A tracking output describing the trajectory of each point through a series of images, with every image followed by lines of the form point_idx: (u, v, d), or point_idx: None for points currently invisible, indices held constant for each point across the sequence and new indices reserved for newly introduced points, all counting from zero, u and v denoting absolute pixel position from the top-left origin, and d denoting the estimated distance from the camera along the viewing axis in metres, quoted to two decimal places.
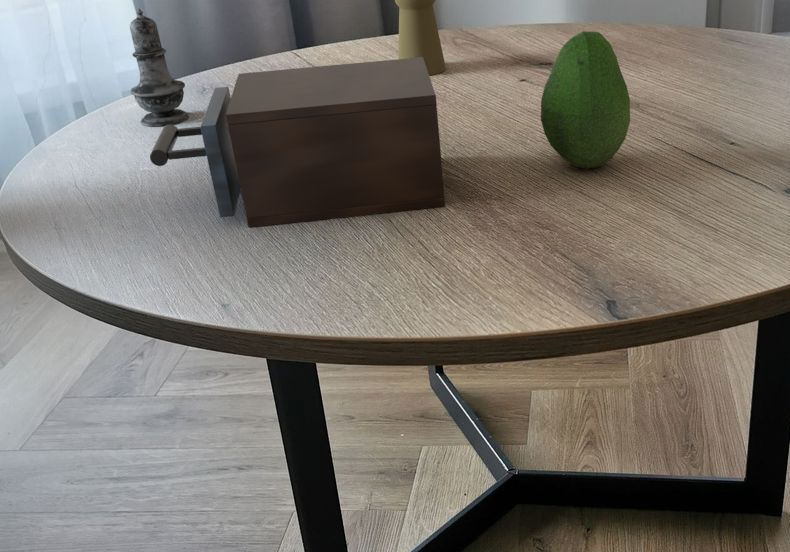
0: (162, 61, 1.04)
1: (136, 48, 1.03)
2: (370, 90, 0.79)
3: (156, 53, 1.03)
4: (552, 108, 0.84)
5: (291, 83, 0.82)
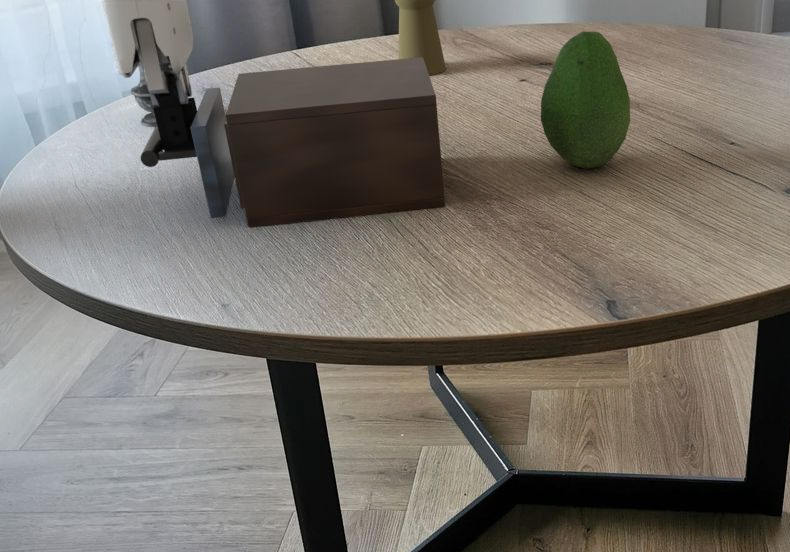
0: None
1: None
2: (370, 90, 0.79)
3: None
4: (552, 108, 0.84)
5: (291, 83, 0.82)
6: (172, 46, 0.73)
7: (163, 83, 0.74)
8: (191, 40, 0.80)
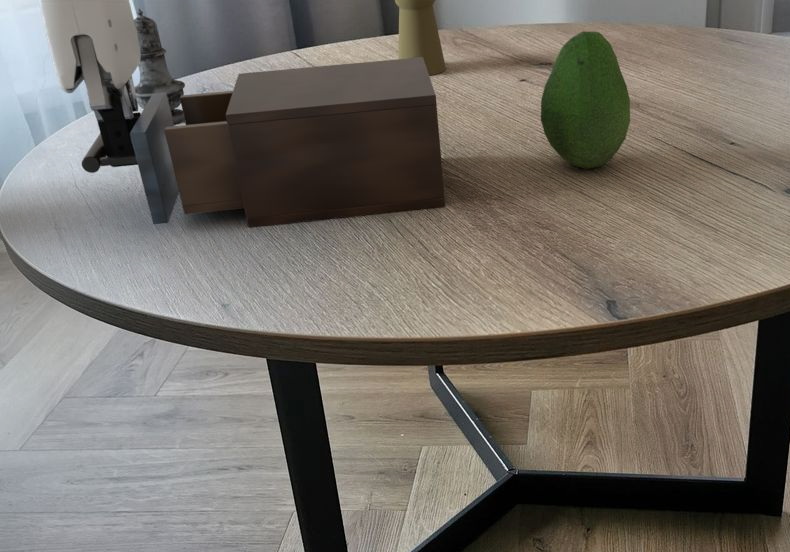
0: (162, 61, 1.04)
1: None
2: (370, 90, 0.79)
3: (156, 53, 1.03)
4: (552, 108, 0.84)
5: (291, 83, 0.82)
6: (114, 63, 0.73)
7: (105, 99, 0.74)
8: (137, 55, 0.80)
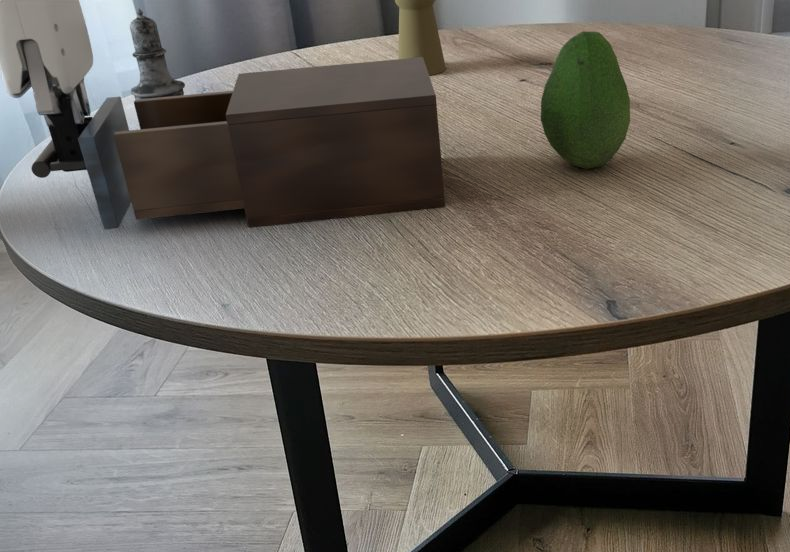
0: (162, 61, 1.04)
1: (136, 48, 1.03)
2: (370, 90, 0.79)
3: (156, 53, 1.03)
4: (552, 108, 0.84)
5: (291, 83, 0.82)
6: (61, 67, 0.73)
7: (52, 104, 0.74)
8: (89, 59, 0.80)
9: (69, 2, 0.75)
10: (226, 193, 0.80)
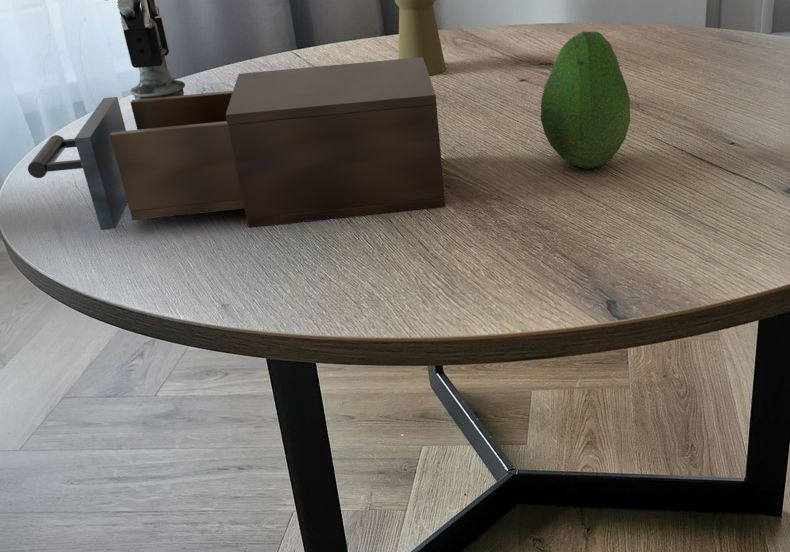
0: None
1: None
2: (370, 90, 0.79)
3: None
4: (552, 108, 0.84)
5: (291, 83, 0.82)
6: None
7: (129, 0, 0.95)
8: None
9: None
10: (223, 193, 0.80)
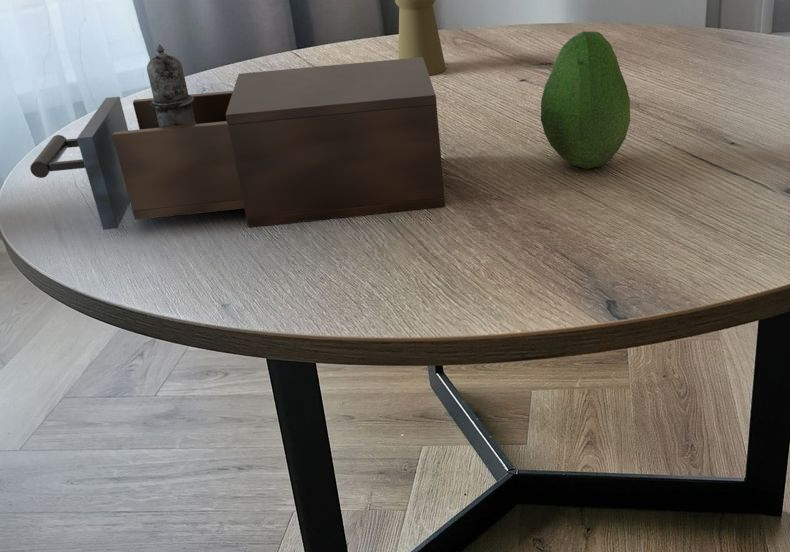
0: (188, 111, 0.80)
1: (155, 96, 0.79)
2: (370, 90, 0.79)
3: (182, 102, 0.79)
4: (552, 108, 0.84)
5: (291, 83, 0.82)
6: None
7: None
8: None
9: None
10: (225, 193, 0.80)
